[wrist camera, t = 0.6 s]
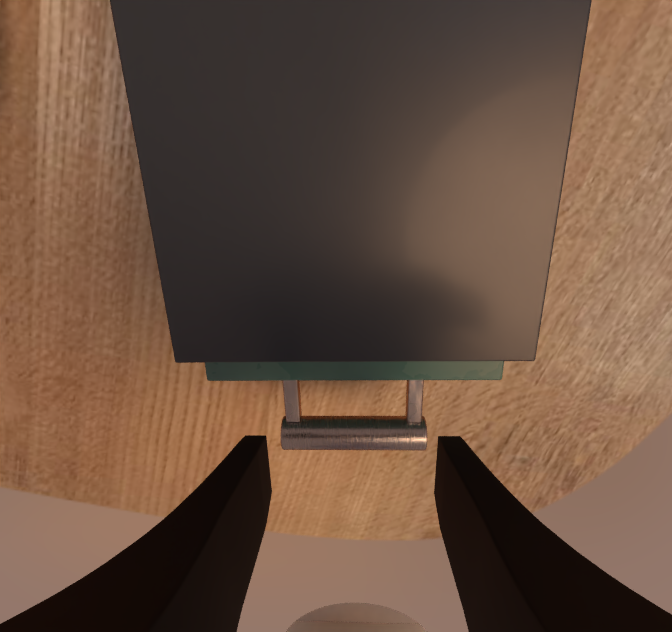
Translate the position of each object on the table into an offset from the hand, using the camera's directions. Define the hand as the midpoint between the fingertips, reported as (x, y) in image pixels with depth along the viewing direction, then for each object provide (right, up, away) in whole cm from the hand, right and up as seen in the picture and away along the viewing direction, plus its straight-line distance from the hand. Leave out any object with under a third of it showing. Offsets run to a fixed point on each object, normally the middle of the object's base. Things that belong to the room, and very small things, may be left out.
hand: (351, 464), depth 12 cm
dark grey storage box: (0, +12, +6) cm, 13 cm away
